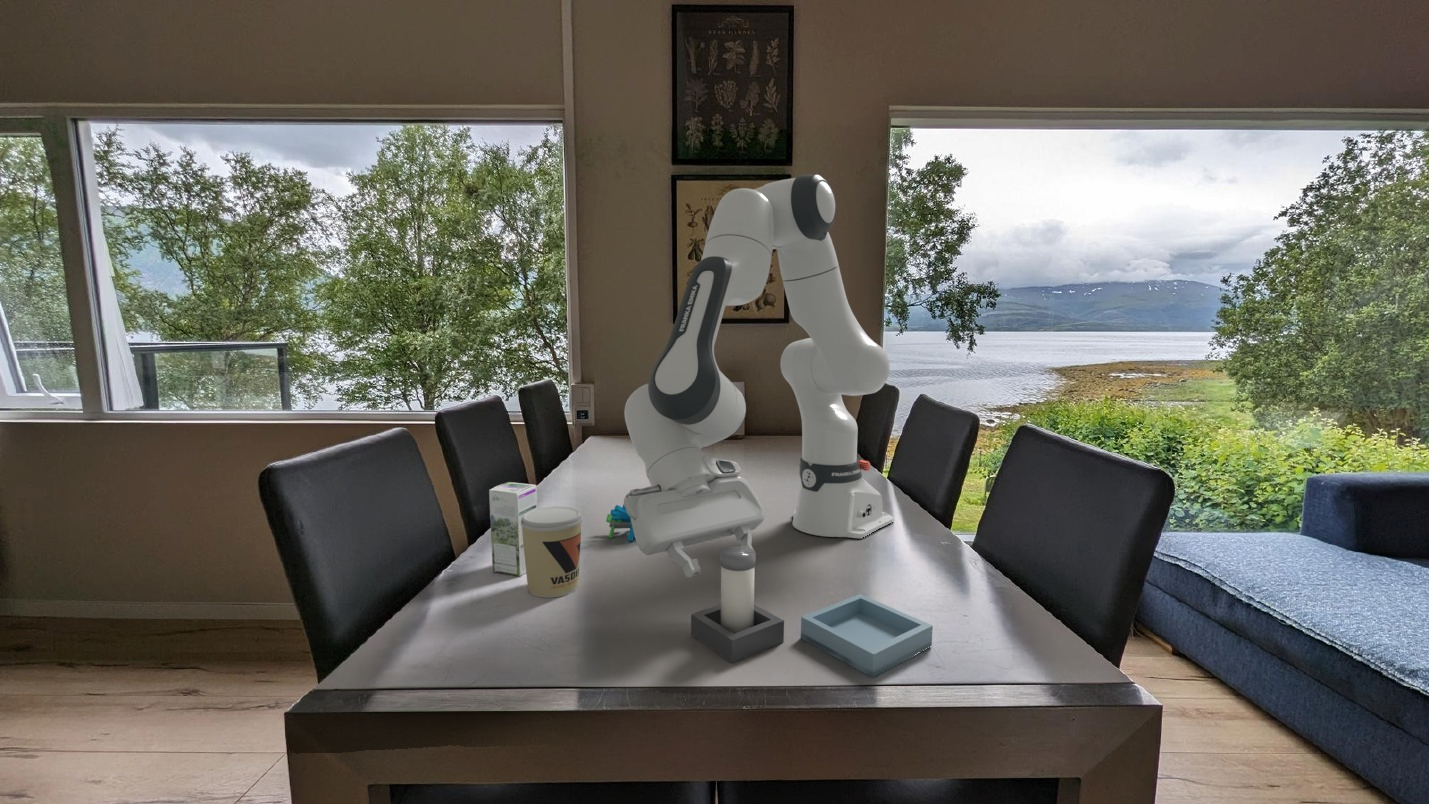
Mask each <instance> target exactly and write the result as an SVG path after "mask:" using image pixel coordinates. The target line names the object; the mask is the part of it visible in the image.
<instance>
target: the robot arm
mask: <svg viewBox="0 0 1429 804" xmlns="http://www.w3.org/2000/svg"><path fill="white" fill-rule="evenodd" d="M836 202H837V201H836V197H835V194H834V191H833V189H832V186H831V185H830V183H829V182H828V181H827V180H826V179H825V178H823V177H822V176H821V175H820V174H810V173H809V174H800V175H798V176H796V177H793V178H787V179H781V180H776V181H772V182H769V183H764V185H762V186H760V187H757V188H755V189H753V188H746V187H742V188H736V189H735V188H734V189H732V190H729V192H727V193H725V194H724V195H723V196H722V197H721V199H720V200H719V202H718V205H717V207H716V209H715V211H714V214H713V216H712V218H711V221H710V223H709V224H710V225H709V228H708V231H707V235H706V239H705V244H704V248H703V251H702V256H701V260H700V261H699V262H698V263H697V264H696V265H695V267H694V268H693V270H692V272H691V274H690V276H689V279H688V282H687V285H686V286H685V290H684V293H683V296H682V299H681V302H680V305H679V309H678V312H677V315H676V319H675V321H674V324H673V327H672V331H671V333H670V336H669V339H668V341H667V344H666V345H665V347H664V349H663V351H662V352H661V354H660V356H659V357H658V359H657V361H656V362H655V364H654V366H653V368H652V370H651V372H650V376H649V379H648V383H646V384H643V385H641V386H639V387H638V388H637V389H635V390H634V391H633V392H632V393H631V394H630V395H629V397H628V398H627V400H626V403H625V406H624V409H623V410H624V421H625V424H626V428H627V432H628V434H629V437H630V440H631V442H632V445H633V448H634V450H635V452H636V454H637V456H639V458H640V459H641V460H642V461H643V463H644V467H645V474H646V477H647V479H648V481H649V484H650V486H646V487H643V488H634V489H631V490H629V492H628V493H626V495H625V496H624V498H623V504H624V506H625V508H626V511H627V513H628V515H629V516H630V517H631V522H632V527H633V531H634V538H635V541H636V544H637V547H638V550H639V551H640V552H642V553H643V554H644V555H647V556H651V555H655V554H659V553H660V554H661V553H665V552H667V554H668V555H667V556H668V557H669V559H671V560H672V561H673V562H674V563H676V564H677V565H678V566H679V567H680V568H681V569H682V570H683V573H684V574H685V575H684V576H685V577H686V578H687V579H690V578H693V577H697V576H698V575H699V574H700V573H701V572H702V568H701V565H699V561H698V559H697V558H693V559H692V558H691V557H690V556H689V555H688V554H686V552H684V548H685V547H689V546H693V545H696V544H701V543H705V542H709V541H714V540H718V539H722V538H725V537H730V536H733V535H734V536H735V538H736V540H737V541H740V546H741V547H747V548H751V549H753V550H754V548H753V546H752V542H753V541H752V537H753V535H752V534H753V531H754V530H755V529H757V528H758V527H759V526H760V525H761V524H762V523H763V522H764V519H765V515H766V514H765V513H766V512H765V509H764V507H763V505H762V503H761V501H760V498H758V495H757V494H756V492H755V491H754V489H753V487H752V486H751V484H750V483H749V482H748V481H747V480H746V479H745V478H743V477H742V476H739V475H740V474H741V472H742V469H741V467H740V466H739V463H737V462H736V461H734V460H726V459H721V458H718V457H712V456H710V455H705V454H704V453H703V451H702V449H706V448H708V447H711V446H714V445H715V444H718V443H720V442H722V441H725V440H726V439H729V438H730V437H732V436H733V435H734V434H736V433H737V432H738V431H739V430H740V429H741V428H742V425H743V424H744V421H745V419H746V416H747V415H746V414H747V401H746V399H745V397H744V395H743V393H742V392H741V391H740V389H739V388H737V387H736V385H735V384H734V383H733V382H732V381H731V380H730V379H729V378H728V377H726V376H725V374H724V373H723V372H722V371H721V369H720V368H719V366H718V364H717V360H716V357H715V344H716V340H717V338H718V333H719V330H720V326H721V323H722V319H723V316H724V313H725V310H726V309H725V308H726V307H727V306H733V307H735V306H743V305H746V304H749V303H751V302H754V301H755V300H756V299H757V298H758V297H760V296H761V295H762V293H763V292H764V290H765V287H766V284H767V282H768V278H769V274H770V271H771V264H772V259H773V250H777V258H778V259H777V260H778V266H779V271H780V276H781V279H782V283H783V289H784V292H785V296H786V299H787V305H788V308H789V311H790V312H789V313H790V315H791V318H792V319H793V321H794V322H795V323H796V324H797V325H799V326H800V327H801V328H802V329H803V330H805V332H806V333H807V334H808V336H809V337H808V338H804V339H799V340H796V341H793V342H791V343H790V344H788V345H787V346H786V347H785V348H784V350H783V352H782V354H781V357H780V366H779V367H780V372H781V375H782V376H783V378H784V379H785V381H786V382H788V384H789V386H790V387H791V389H792V391H793V393H794V395H795V399H796V402H797V406H798V408H799V413H800V417H801V428H802V429H801V430H802V431H801V432H802V433H801V434H802V442H801V443H802V444H801V445H802V447H801V448H802V449H801V451H802V453H801V455H802V456H801V457H800V460H799V466H798V467H799V473H798V475H799V477H800V481H799V483H798V489H797V496H796V503H795V504H796V505H795V510H794V511H793V512H792V517H793V519H792V526H793V528H795V529H796V530H797V531H800V532H802V533H806V534H808V535H814V536H819V537H830V538H835V537H836V538H850V539H851V538H853V539H864V538H866V537H868V536H870V535H872V534H873V533H872V532H874V531H876V530H877V529H879V528H880V527H883V526H885V525H886V524H888V523H889V522H891V521H892V520H894V521H895V518H894V517H893V516H892V515H890V514H889V513H887V512H884V511H883V508H884V507H883V498H882V495H881V493H880V492H879V491H878V490H877V489H875V487H873V486H872V485H871V484H870V483H868V481H866V480H865V479H864V478H863V474H862V470H863V471H865V472H868V471H870V469H871V463H870V461H869V460H864V459H863V460H862V459H860V460H859V461H858V460H857V458H858V457H857V454H858V434H859V433H858V430H859V428H858V424H857V421H856V419H855V418H854V417H853V415H851V413H850V412H849V411H848V410H847V408H846V406H845V404H844V401H843V397H842V395H843V396H849V397H850V396H851V397H854V396H855V397H857V396H864V395H871V394H875V393H877V392H878V391H880V390H881V389H882V388H883V387H884V385H885V384H886V383H887V380H888V377H889V375H890V359H889V357H888V354H887V353H886V350H885V349H884V348H883V347H881V346H880V345H879V344H878V343H877V342H874V340H873V339H872V338H871V337H870V336H868V334H867V333H866V331H865V330H864V329H863V327H862V326H861V325H860V323H859V322H858V319H857V318H856V316H855V314H854V313H853V310H852V308H851V306H850V304H849V301H848V297H847V295H846V290H845V287H844V286H845V285H844V282H843V279H842V273H841V270H840V265H839V261H838V258H837V253H836V249H835V247H834V244H833V239H832V237H831V235H830V233H829V232H830V231H831V229H832V226H833V225H834V223H835V219H836V215H837V204H836ZM876 532H877V531H876ZM871 533H872V534H871ZM874 533H875V532H874ZM869 534H870V535H869ZM867 535H868V536H867ZM865 536H866V537H865ZM863 537H864V538H863Z"/></svg>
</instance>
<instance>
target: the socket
mask: <svg viewBox="0 0 1429 804" xmlns="http://www.w3.org/2000/svg"><path fill="white" fill-rule="evenodd" d="M720 625H721V603H720V604H718V605H714V606H711V607H709V608H706V609H703V610H699V611H696V612H693V613H691V614H690V636H691V637H693V638H695V640H697V641H699V642H700V643H702V644H703V645H704V646H706V647H707V648H709V649H710V650H712V651H714V653H716V654H718V655H719V656H721V657H722V658H724V659H725V660H726V661H728V662H729V663H731V664H734V663H736V662H739V661H740V660H744V659H746V658H748V657H750V656H753V655H756V654H759V653H761V652H762V651H765V650H768V649H771V648H773V647H775V646H778V645H779V644H782V643H784V639H785V637H784V636H785V620H784V619H782V618H780V617H778V616H777V615H775V614H773V613H771V612H769V611H768V610H765V609H764V608H762V607H760V606H758V605H757V604H754V626H753V627H750V628H748V629H745V630H743V631H740V632H737V633H735V634H733V633H732V632H730V631H728V630H727V629H725V628H724V627H722V626H720Z"/></svg>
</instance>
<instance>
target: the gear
mask: <svg viewBox="0 0 1429 804" xmlns="http://www.w3.org/2000/svg"><path fill="white" fill-rule="evenodd" d="M605 522H606V523H609V525H608V526H609V528H610V529H609V534H608V538H609V539H613V537H614V532H615V529H629V532H628V536H627V541H628V542H631V543H632V542H633V541H634V538H635V535H634V531H633V527H632V522H631V517H630V516H629V515H628V513H627V511H626V508H625V506H624V503H623V504H622V506H620V505H618V504H616V505H615V506H614V509H610V514H607V516H606V521H605Z"/></svg>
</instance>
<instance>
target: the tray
mask: <svg viewBox="0 0 1429 804" xmlns="http://www.w3.org/2000/svg"><path fill="white" fill-rule="evenodd" d="M933 627H934V626H933V625H932V624H930V623H927V622H925V621H923V620H920V619H918V618H917V617H914V616H911V615H909V614H907V613H905V612H902V611H900V610H898V609H895V608H893V607H891V606H888V605H886V604H884V603H882V602H879V601H877V600H875V599H872V598H870V597H868V596H865V595H864V594H861V593H859V594H856V595H854V596H851V597H849V598H846V599H844V600H841V601H837V602H835V603H832V604H830V605H828V606H826V607H823V608H821V609H818V610H816V611H813V612H810V613H807V614H804V615H803V616H801V619H800V639H802V640H804V641H805V642H807V643H809V644H811V645H813V646H814V647H816V648H818V649H820V650H822V651H824V652H825V653H827V654H829V655H830V656H832V657H834V658H836V659H838V660H839V661H841V662H843V663H845V664H846V665H848V666H850V667H852V668H854V669H856V670H858V671H859V672H861V673H863V674H865V675H866V676H868V677H870V678H872V679H874V678H876V677H878V676H880V675H882V674H884V673H885V672H887V671H890V670H891V669H893V668H895V667H897V666H899V665H900V663H901V662H903V661H905V662H907V661H908V660H910V659H911V658H910V657H912V656H914V655H915V654H917V653H918V652H921V651H923V650H925V649H926V648H928V647H930V646H932V645H933V644H932V643H933ZM932 647H933V646H932ZM914 657H915V656H914ZM909 658H910V659H909ZM912 658H913V657H912ZM907 659H908V660H907ZM903 663H904V662H903ZM898 664H899V665H898ZM901 664H902V663H901Z"/></svg>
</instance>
